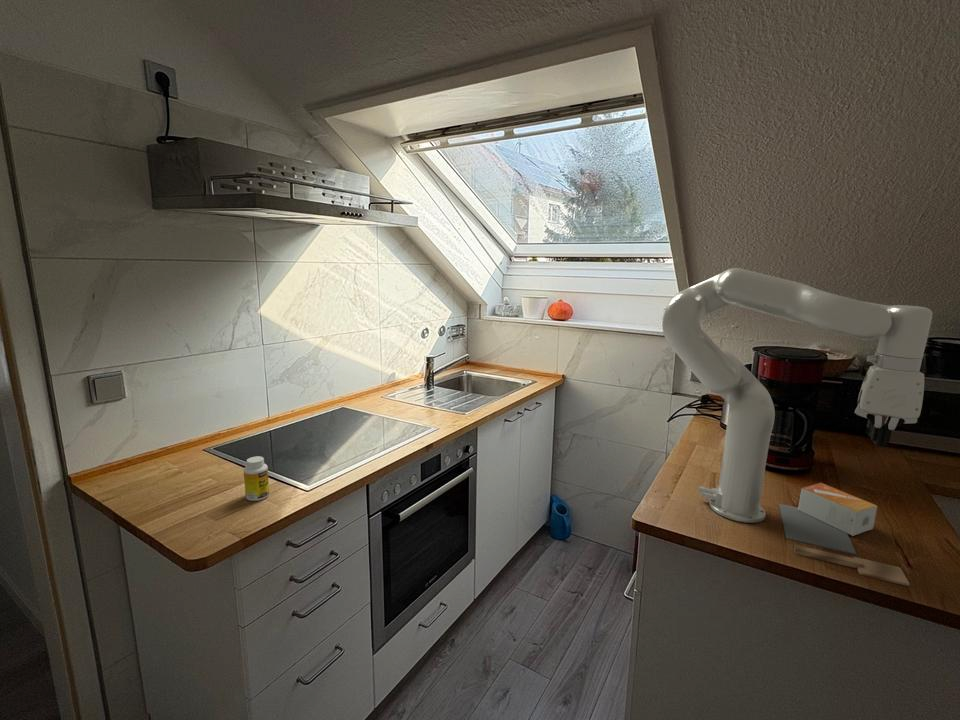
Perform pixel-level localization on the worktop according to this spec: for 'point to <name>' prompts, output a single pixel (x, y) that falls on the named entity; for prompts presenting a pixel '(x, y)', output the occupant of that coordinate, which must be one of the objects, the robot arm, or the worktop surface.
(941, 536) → the worktop surface
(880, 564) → the light wooden turner
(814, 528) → the mat
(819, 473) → the worktop surface
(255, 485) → the supplement bottle
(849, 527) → the small box
